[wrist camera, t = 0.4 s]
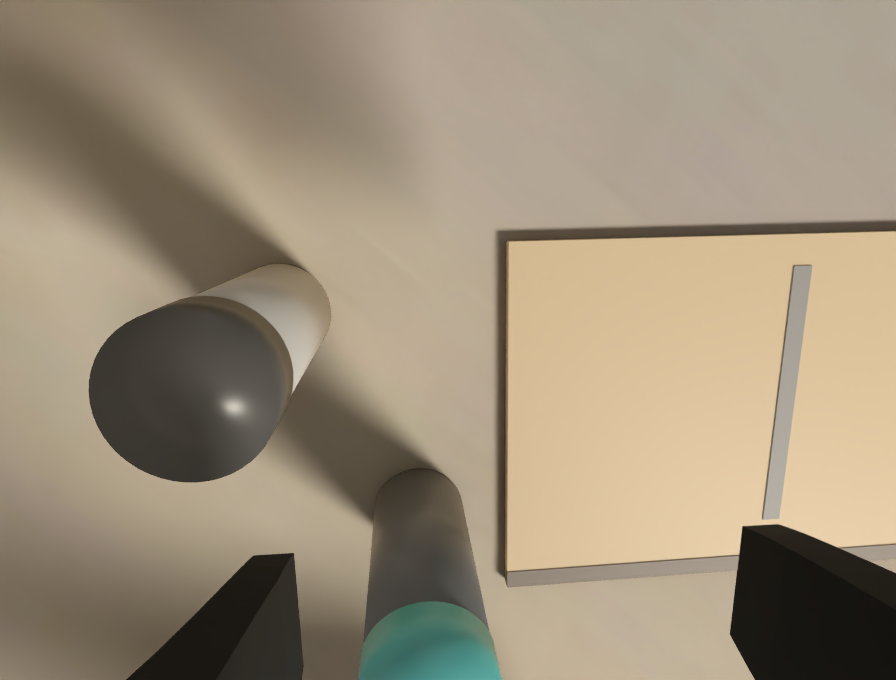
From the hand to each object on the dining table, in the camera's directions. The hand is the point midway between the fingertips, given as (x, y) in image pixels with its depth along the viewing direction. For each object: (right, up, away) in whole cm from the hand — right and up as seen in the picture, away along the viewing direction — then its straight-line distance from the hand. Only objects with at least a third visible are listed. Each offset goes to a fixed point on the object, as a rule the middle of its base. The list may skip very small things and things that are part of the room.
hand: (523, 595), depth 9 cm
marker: (-2, -2, +10) cm, 11 cm away
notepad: (+9, +2, +10) cm, 14 cm away
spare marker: (-6, +5, +8) cm, 12 cm away
